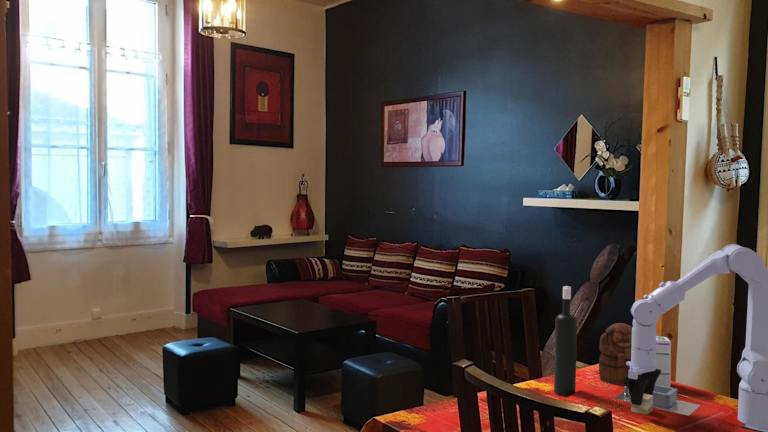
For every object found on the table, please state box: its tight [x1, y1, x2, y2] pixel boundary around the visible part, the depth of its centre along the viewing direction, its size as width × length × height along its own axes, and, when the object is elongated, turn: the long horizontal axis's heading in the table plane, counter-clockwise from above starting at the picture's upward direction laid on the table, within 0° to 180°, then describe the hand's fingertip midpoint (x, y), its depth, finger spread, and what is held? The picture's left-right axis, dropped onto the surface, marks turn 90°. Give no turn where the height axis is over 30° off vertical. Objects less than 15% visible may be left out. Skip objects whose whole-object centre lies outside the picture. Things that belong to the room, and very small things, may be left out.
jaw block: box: [630, 394, 654, 416], centre depth 161 cm, size 4×4×5 cm
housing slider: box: [652, 384, 679, 407], centre depth 168 cm, size 6×7×3 cm
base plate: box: [613, 385, 701, 417], centre depth 168 cm, size 19×10×4 cm, turn 49°
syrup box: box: [655, 335, 672, 387], centre depth 182 cm, size 6×6×14 cm
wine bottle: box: [553, 285, 578, 397], centre depth 177 cm, size 6×6×30 cm
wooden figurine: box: [598, 322, 633, 386], centre depth 185 cm, size 12×6×18 cm, turn 98°
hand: (641, 400), depth 161 cm, fingers open, 7 cm apart
